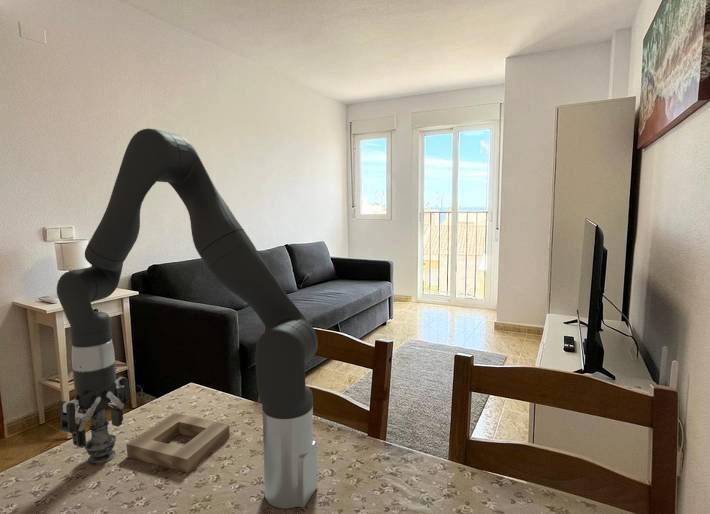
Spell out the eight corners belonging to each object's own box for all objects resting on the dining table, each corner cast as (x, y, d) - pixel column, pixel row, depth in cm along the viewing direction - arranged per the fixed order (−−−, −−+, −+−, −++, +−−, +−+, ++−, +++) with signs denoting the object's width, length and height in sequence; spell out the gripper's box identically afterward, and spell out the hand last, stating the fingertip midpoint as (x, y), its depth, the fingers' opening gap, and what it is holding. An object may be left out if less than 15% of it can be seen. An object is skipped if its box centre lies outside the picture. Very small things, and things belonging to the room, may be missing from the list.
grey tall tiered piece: (123, 450, 92) (119, 399, 90) (105, 467, 86) (100, 412, 85) (98, 448, 92) (94, 397, 91) (78, 465, 87) (73, 411, 85)
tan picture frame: (229, 436, 98) (229, 424, 97) (187, 473, 84) (187, 459, 84) (174, 424, 103) (174, 412, 102) (127, 456, 90) (126, 443, 89)
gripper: (74, 379, 79) (81, 458, 81) (136, 353, 92) (140, 421, 94) (46, 373, 81) (53, 450, 83) (110, 349, 94) (115, 416, 96)
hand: (99, 435), depth 89 cm, fingers open, 8 cm apart
